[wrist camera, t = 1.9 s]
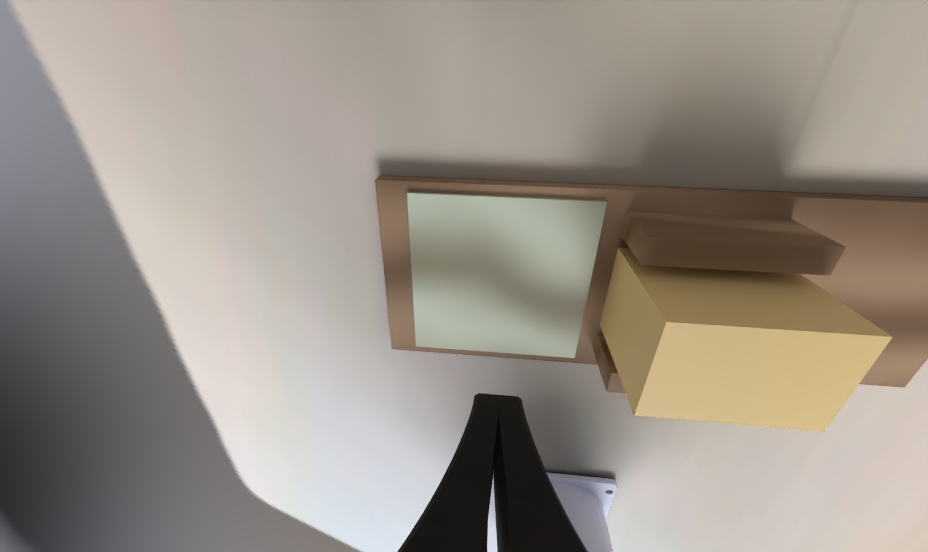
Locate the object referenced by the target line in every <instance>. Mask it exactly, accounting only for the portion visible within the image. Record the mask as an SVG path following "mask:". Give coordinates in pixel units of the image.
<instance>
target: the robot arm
mask: <svg viewBox="0 0 928 552" xmlns="http://www.w3.org/2000/svg"><path fill="white" fill-rule="evenodd" d="M493 470H494V473H493ZM493 474H494V493H495V511H496V529H497V547H498V552H613V550H612V545H611V541H610V536H609V532H608V528H607V523H606V519H607V516H608V513H609V511H610V508H611V505H612V502H613V499H614V497H615V494H616V491H617V488H618V486H617V482H616V481H615V480H613V479H608V478H598V477H588V476H577V475H567V474H556V473H547V472H546V470H545V468H544V466H543V463H542V461H541V458H540V456H539V453H538V451H537V448H536V446H535V443H534V441H533V438H532V435H531V432H530V429H529V426H528V423H527V420H526V416H525V413H524V409H523V405H522V400H521V399H520V398H519V397H516V396H504V395H492V394H480V393H478V394H477V395H475V397H474V403H473V407H472V411H471V414H470V417H469V420H468V423H467V426H466V428H465V431H464V433H463V436H462V438H461V441H460V443H459V445H458V448H457V450H456V452H455V454H454V457H453V459H452V461H451V463H450V465H449V467H448V469H447V471H446V473H445V475H444V477H443V479H442V481H441V482H440V484H439V486H438V488H437V490H436V492H435V493H434V495H433V497H432V499H431V500H430V502H429V504H428V505H427V507H426V509H425V510H424V512H423V514H422V515H421V517H420V519H419V520H418V522H417V523H416V525H415V526H414V528H413V529H412V531H411V533H410V534H409V536H408V537H407V539H406V540H405V542H404V543H403V545H402V546H401V548H400V549H399V550H398V552H487V529H488V513H489V505H490V496H491V488H492V479H493Z"/></svg>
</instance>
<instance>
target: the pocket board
mask: <svg viewBox="0 0 928 552" xmlns="http://www.w3.org/2000/svg"><path fill="white" fill-rule="evenodd" d="M375 182H376V192H377V202H378V212H379V222H380V233H381V243H382V253H383V263H384V273H385V283H386V293H387V304H388V314H389V324H390V334H391V344H392V349H399V350H412V351H425V352H439V353H452V354H465V355H478V356H492V357H505V358H518V359H532V360H545V361H558V362H572V363H585V364H598V366H599V369H600V373H601V376H602V379H603V382H604V385H605V388H606V391H608V392H620V393H626V392H625V390H624V387H623V384H622V382H621V379H620V377H619V374H618V371H617V369H616V366H615V363H614V361H613V358H612V355H611V353H610V350H609V348H608V345H607V342H606V340H605V337H604V334H603V332H602V329H601V327H600V322H601V317H602V313H603V309H604V305H605V301H606V296H607V292H608V288H609V284H610V280H611V275H612V271H613V267H614V263H615V259H616V254H617V250H618V248H630V249H631V251H632V252H633V254H634V255H635V256H636V258H637V259H638V261H639V262H640V263H641V265H648V266H666V267H684V268H702V269H720V270H738V271H756V272H774V273H792V274H801V275H803V276H804V277H806V278H807V279H809V280H810V281H812V282H813V283H814V284H816V285H817V286H819V287H820V288H822V289H823V290H825V291H826V292H828V293H829V294H831V295H832V296H834V297H835V298H836V299H838V300H839V301H841V302H842V303H844V304H845V305H847V306H848V307H850V308H851V309H853V310H854V311H855V312H857V313H858V314H860V315H861V316H863V317H864V318H866V319H867V320H869V321H870V322H872V323H873V324H874V325H876V326H877V327H879V328H880V329H882V330H883V331H885V332H886V333H888V334H889V335H891V336H892V339H891V340H890V342H889V343H888V344H887V346H886V347H885V348H884V350H883V351H882V353H881V354H880V355H879V357H878V358H877V360H876V361H875V362H874V364H873V365H872V366H871V368H870V369H869V371H868V372H867V373H866V375H865V376H864V378H863V379H862V380H861V382H860V383H859V384H865V385H878V386H892V387H905V386H906V385H907V384H908V382H909V381H910V380H911V379H912V377H913V376H914V375H915V374H916V372H917V371H918V370H919V369H920V367H921V366H922V365H923V364H924V362H925V361H926V360H927V359H928V198H921V197H896V196H871V195H847V194H822V193H797V192H773V191H748V190H723V189H698V188H674V187H649V186H624V185H600V184H575V183H550V182H526V181H501V180H476V179H451V178H427V177H402V176H379V177H378V178H377V179H376V180H375Z"/></svg>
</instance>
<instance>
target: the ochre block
mask: <svg viewBox="0 0 928 552" xmlns="http://www.w3.org/2000/svg"><path fill="white" fill-rule="evenodd" d="M600 327H601V329H602V332H603V334H604V337H605V340H606V342H607V345H608V348H609V350H610V353H611V355H612V358H613V361H614V363H615V366H616V369H617V371H618V374H619V377H620V379H621V382H622V384H623V387H624V390H625V392H626V395H627V398H628V400H629V403H630V406H631V408H632V411H633V413H634V416H646V417H658V418H669V419H681V420H693V421H705V422H717V423H729V424H741V425H753V426H764V427H776V428H788V429H800V430H812V431H824V432H825V430H826V429H827V427H828V426H829V425H830V423H831V422H832V421H833V419H834V418H835V416H836V415H837V414H838V412H839V411H840V409H841V408H842V407H843V405H844V404H845V403H846V401H847V400H848V398H849V397H850V396H851V394H852V393H853V391H854V390H855V389H856V387H857V386H858V384H859V383H860V382H861V380H862V379H863V378H864V376H865V375H866V373H867V372H868V371H869V369H870V368H871V366H872V365H873V364H874V362H875V361H876V360H877V358H878V357H879V355H880V354H881V353H882V351H883V350H884V348H885V347H886V346H887V344H888V343H889V342H890V340H891V339H892V336H891V335H889V334H888V333H886V332H885V331H883V330H882V329H880V328H879V327H877V326H876V325H874V324H873V323H872V322H870V321H869V320H867V319H866V318H864V317H863V316H861V315H860V314H858V313H857V312H855V311H854V310H853V309H851V308H850V307H848V306H847V305H845V304H844V303H842V302H841V301H839V300H838V299H836V298H835V297H834V296H832V295H831V294H829V293H828V292H826V291H825V290H823V289H822V288H820V287H819V286H817V285H816V284H814V283H813V282H812V281H810V280H809V279H807V278H806V277H804V276H803V275H801V274H792V273H774V272H756V271H738V270H720V269H702V268H684V267H666V266H648V265H641V263H640V262H639V261H638V259H637V258H636V256H635V255H634V254H633V252H632V251H631V249H630V248H618V250H617V254H616V259H615V263H614V267H613V271H612V275H611V280H610V284H609V288H608V292H607V296H606V301H605V305H604V309H603V313H602V317H601V322H600Z"/></svg>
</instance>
